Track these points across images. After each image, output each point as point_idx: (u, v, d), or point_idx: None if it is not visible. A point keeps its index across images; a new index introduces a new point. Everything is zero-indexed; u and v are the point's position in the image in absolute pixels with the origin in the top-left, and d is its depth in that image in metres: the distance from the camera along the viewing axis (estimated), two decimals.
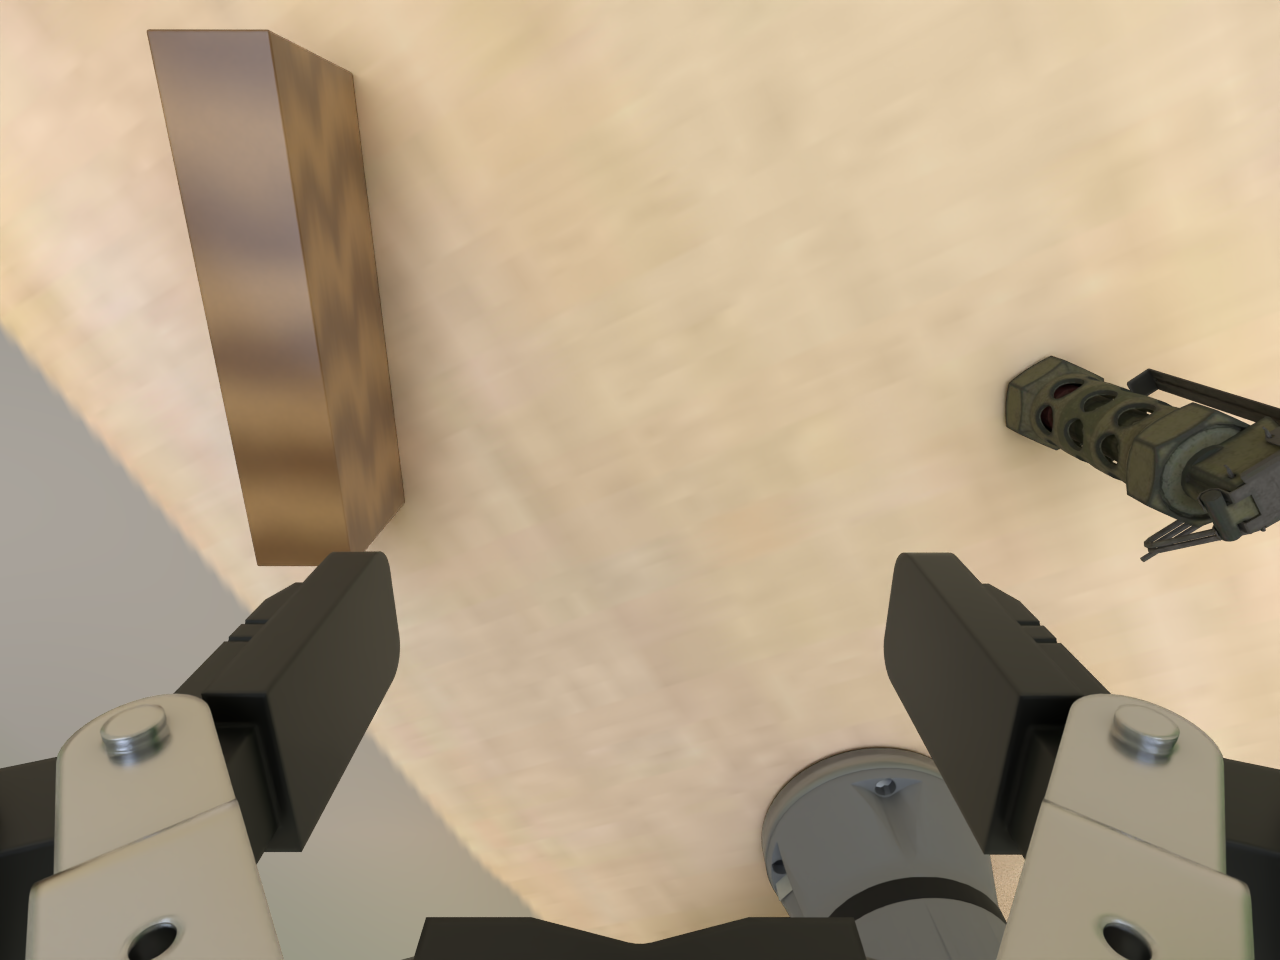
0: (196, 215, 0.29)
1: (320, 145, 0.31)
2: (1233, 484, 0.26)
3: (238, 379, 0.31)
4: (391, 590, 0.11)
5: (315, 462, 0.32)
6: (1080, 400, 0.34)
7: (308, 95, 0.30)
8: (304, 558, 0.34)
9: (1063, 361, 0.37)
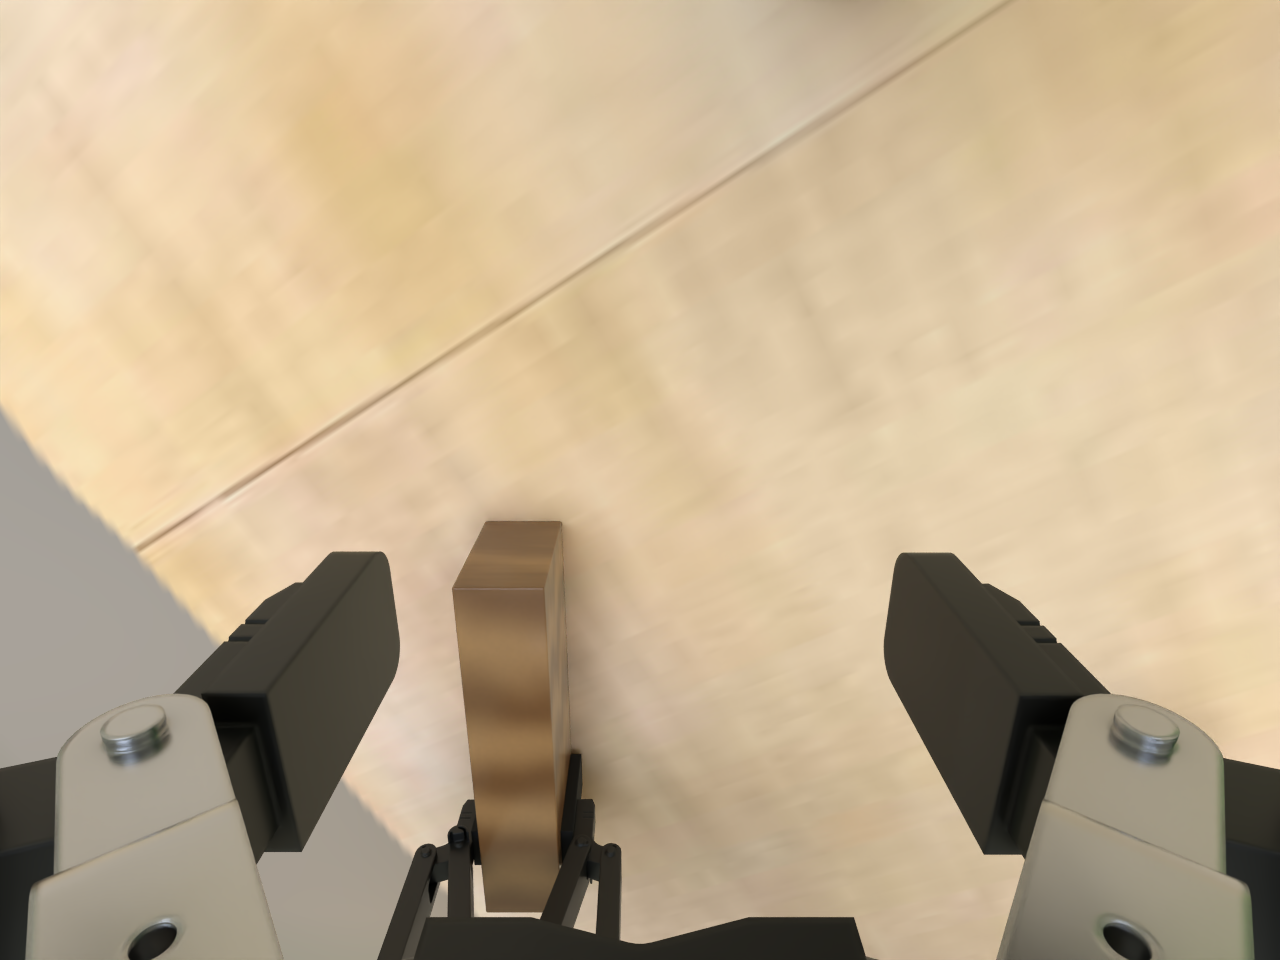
0: (472, 696, 0.37)
1: (554, 617, 0.39)
2: None
3: (489, 795, 0.40)
4: (391, 590, 0.11)
5: (542, 846, 0.41)
6: None
7: (552, 593, 0.38)
8: (524, 907, 0.43)
9: None
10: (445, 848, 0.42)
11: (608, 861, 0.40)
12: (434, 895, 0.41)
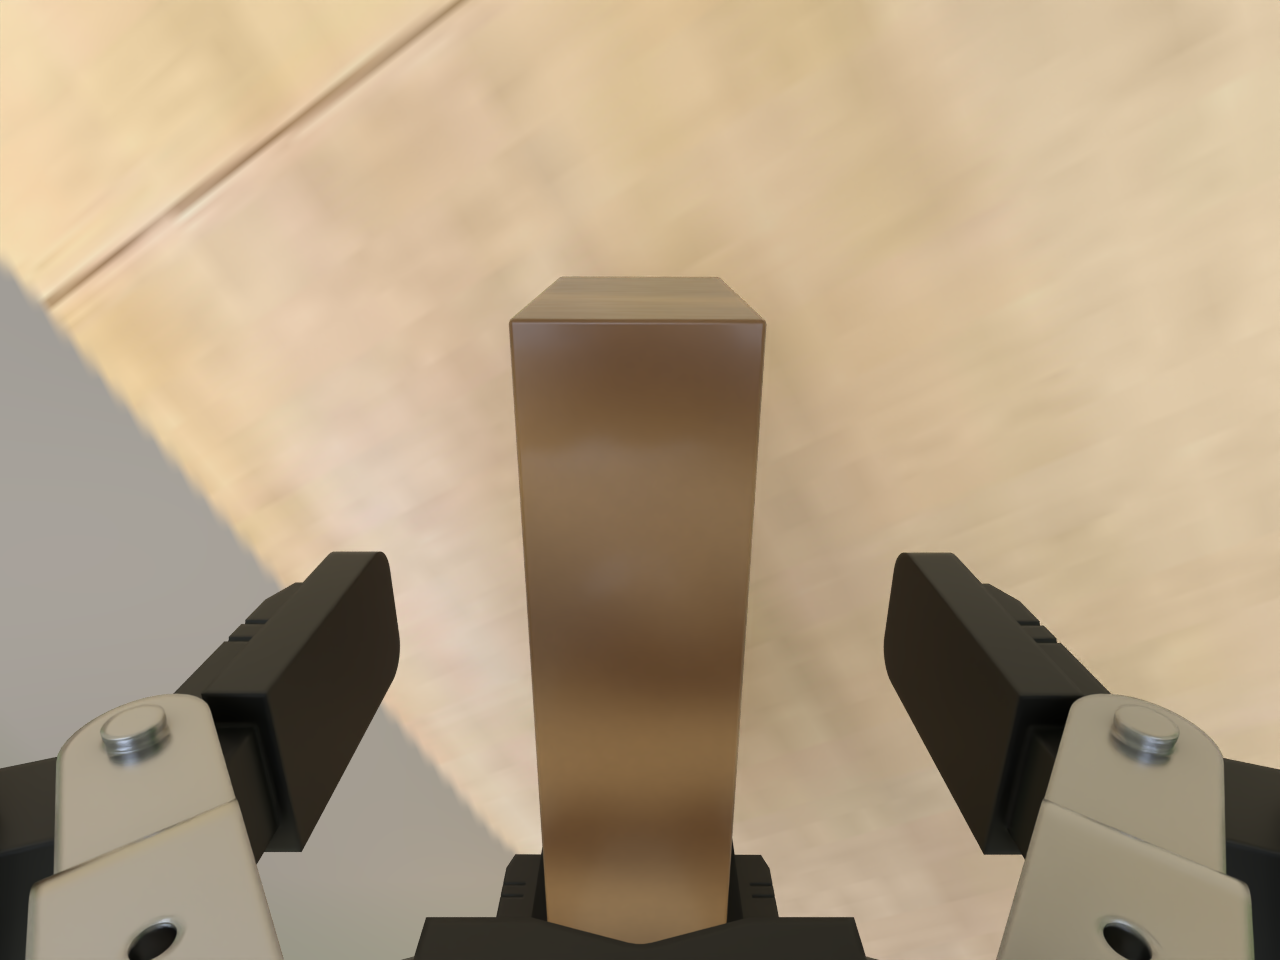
0: (552, 632, 0.15)
1: None
2: None
3: (579, 866, 0.17)
4: (391, 590, 0.11)
5: None
6: None
7: None
8: None
9: None
10: None
11: None
12: None
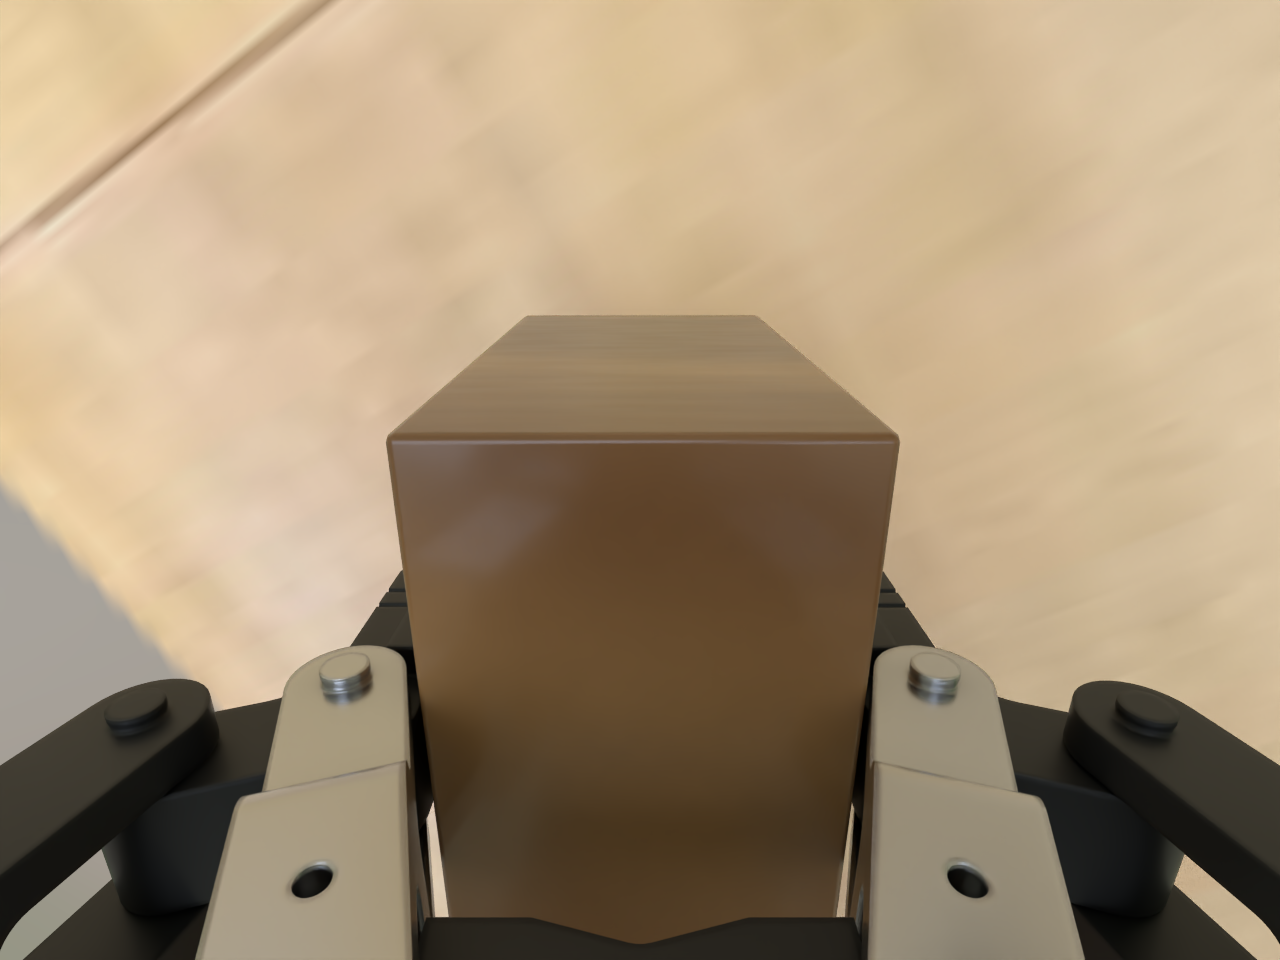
0: None
1: None
2: None
3: None
4: None
5: None
6: None
7: None
8: None
9: None
10: None
11: None
12: None
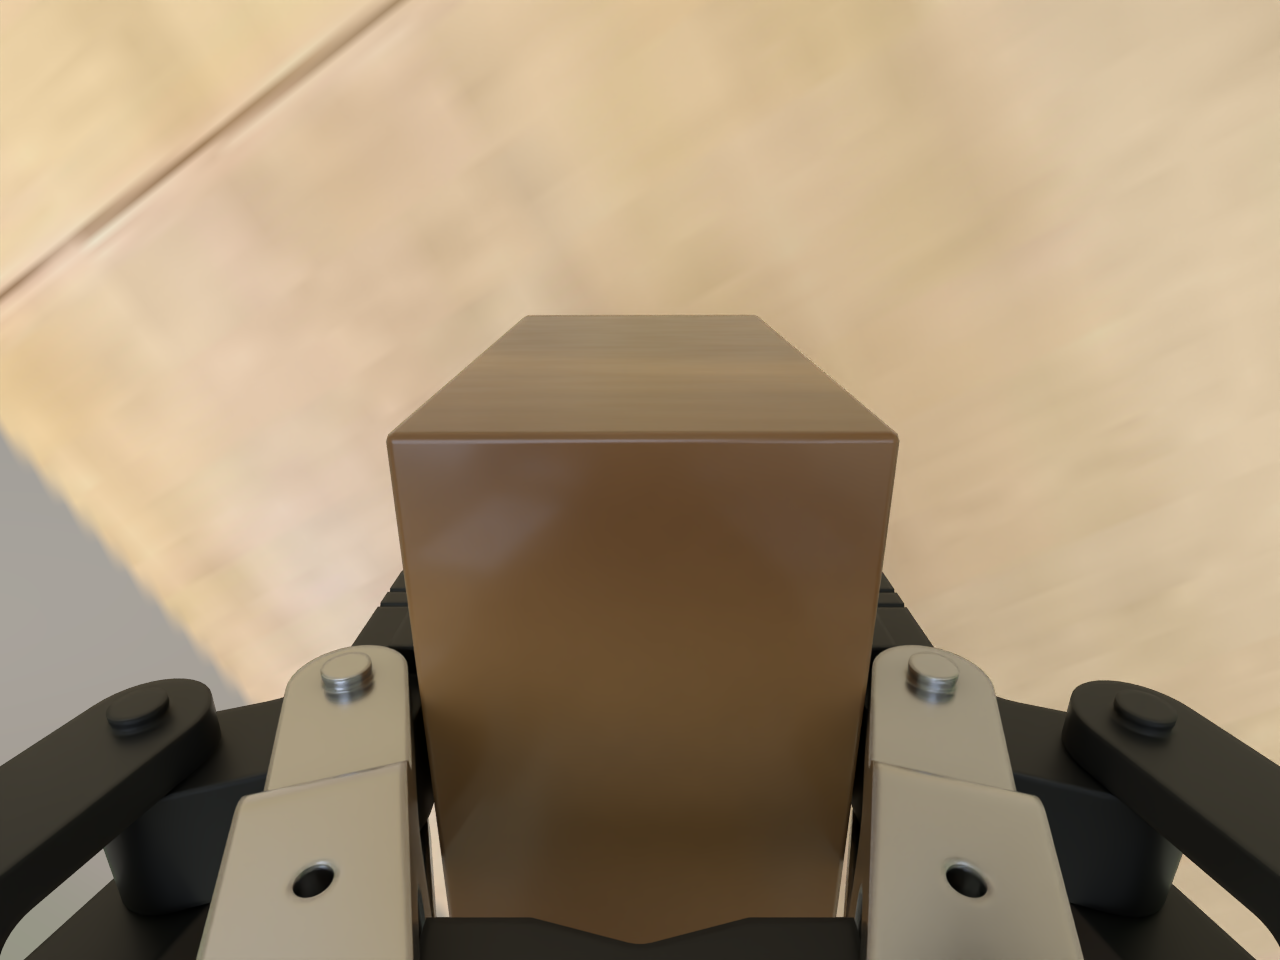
0: None
1: None
2: None
3: None
4: None
5: None
6: None
7: None
8: None
9: None
10: None
11: None
12: None
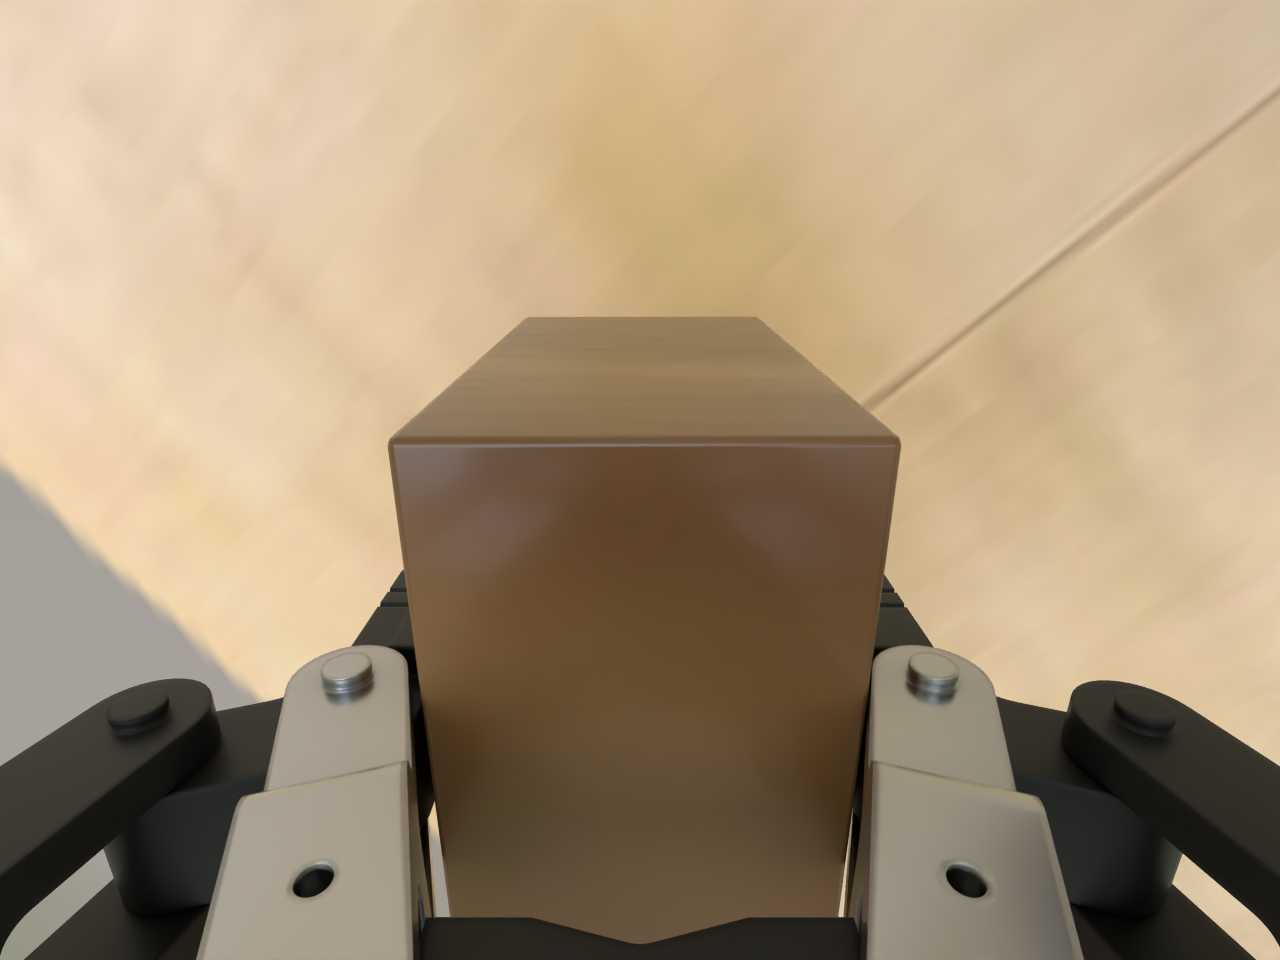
0: None
1: None
2: None
3: None
4: None
5: None
6: None
7: None
8: None
9: None
10: None
11: None
12: None
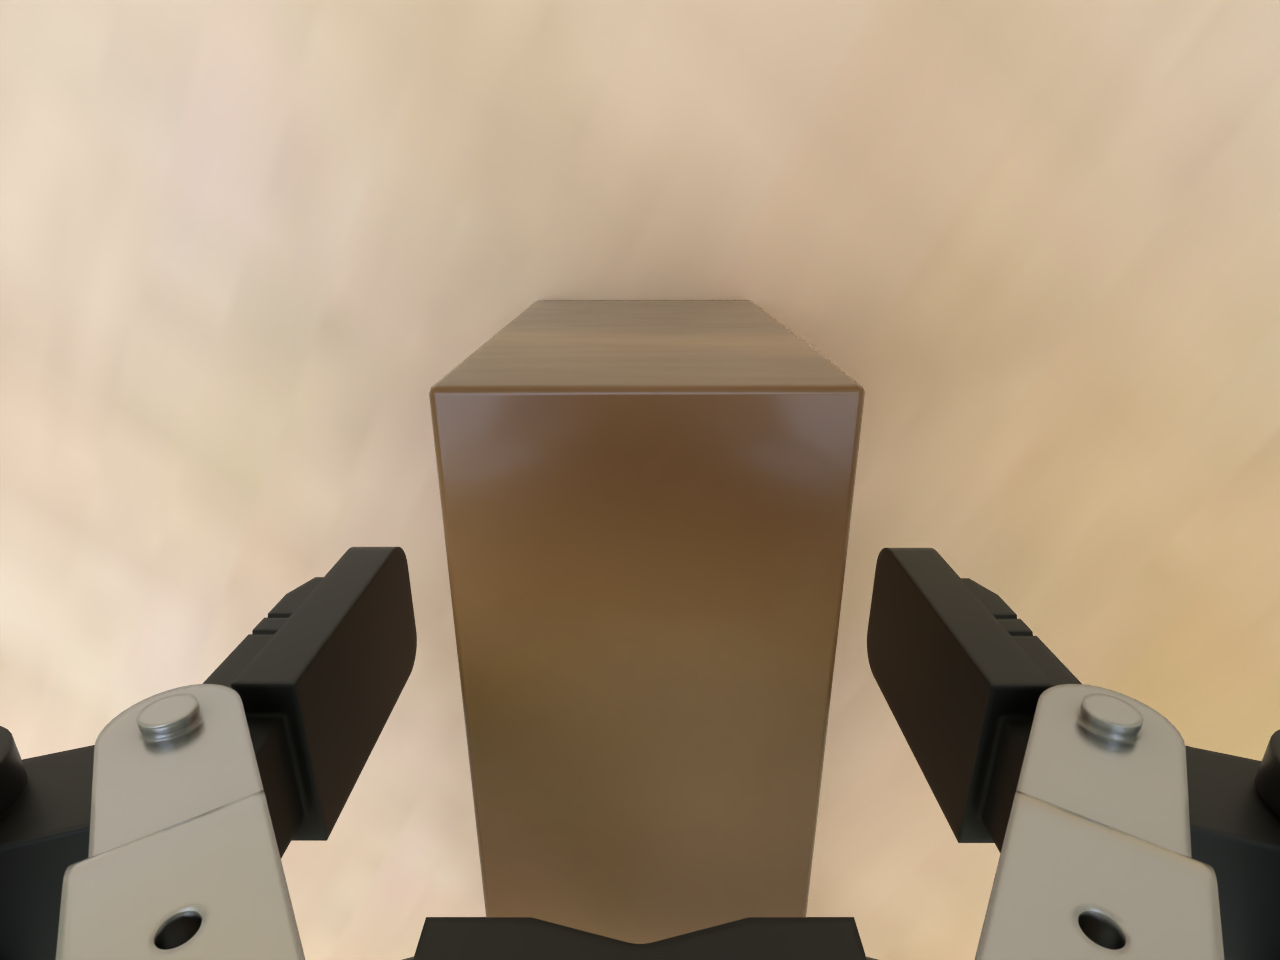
0: (515, 855, 0.10)
1: None
2: None
3: None
4: (409, 585, 0.11)
5: None
6: None
7: None
8: None
9: None
10: None
11: None
12: None
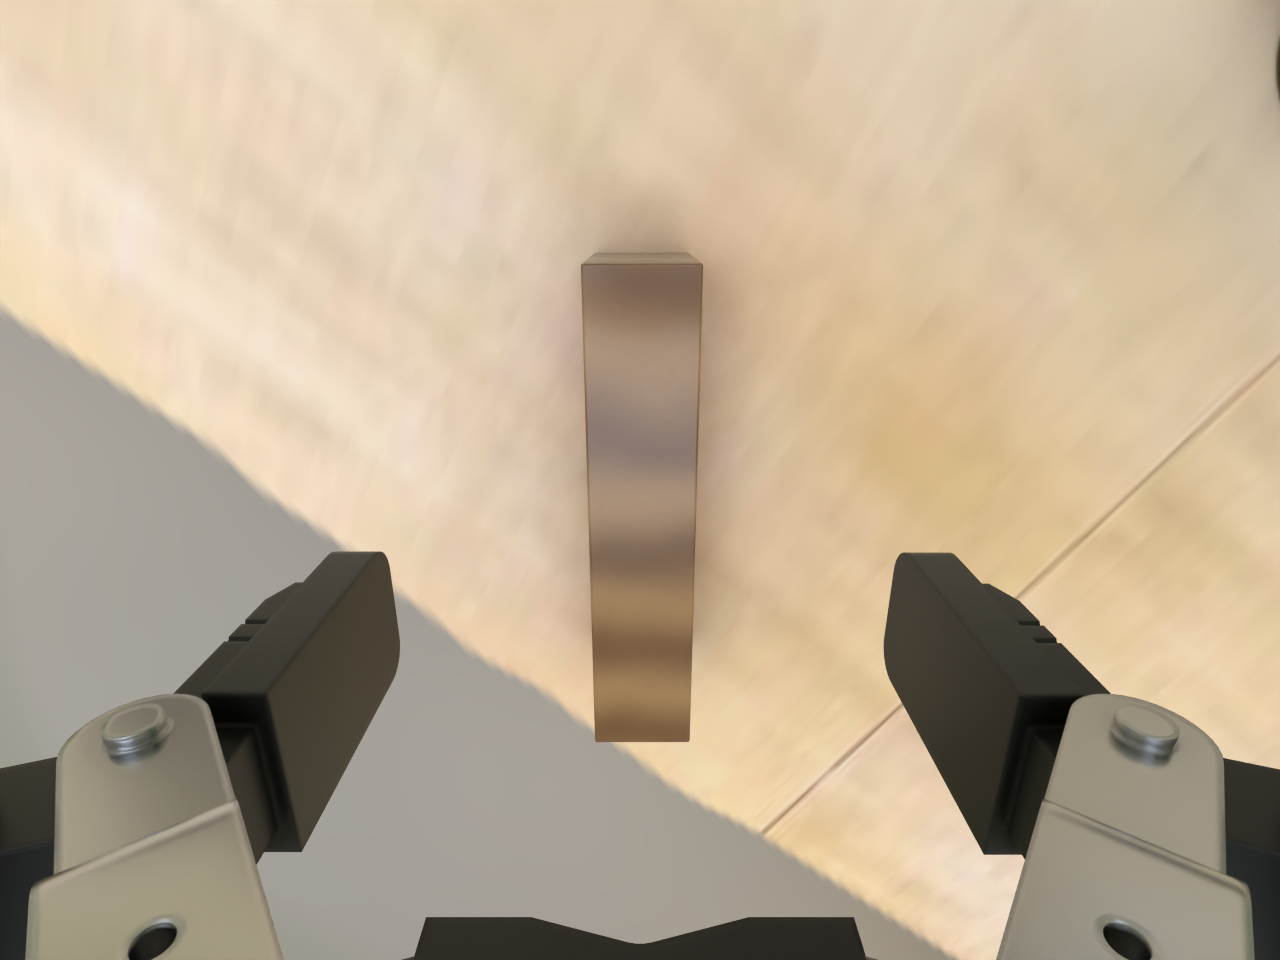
0: (598, 430, 0.29)
1: None
2: None
3: (610, 576, 0.31)
4: (391, 590, 0.11)
5: (671, 649, 0.33)
6: None
7: None
8: (643, 735, 0.34)
9: None
10: None
11: None
12: None
